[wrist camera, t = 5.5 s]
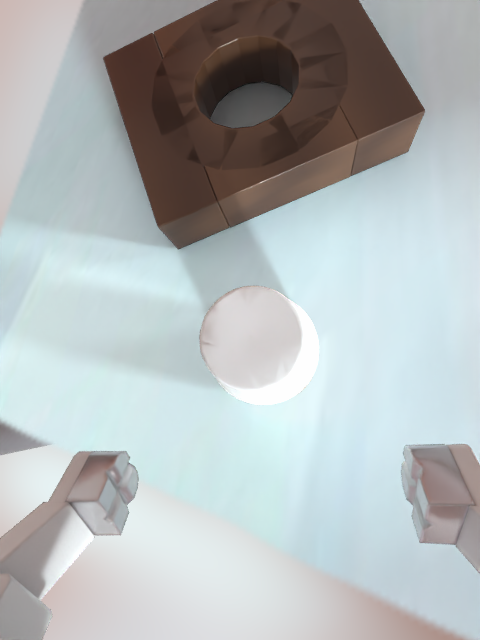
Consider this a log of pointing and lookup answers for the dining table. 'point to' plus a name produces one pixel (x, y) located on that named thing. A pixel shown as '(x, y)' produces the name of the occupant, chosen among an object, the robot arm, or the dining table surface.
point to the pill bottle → (259, 345)
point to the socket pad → (271, 135)
